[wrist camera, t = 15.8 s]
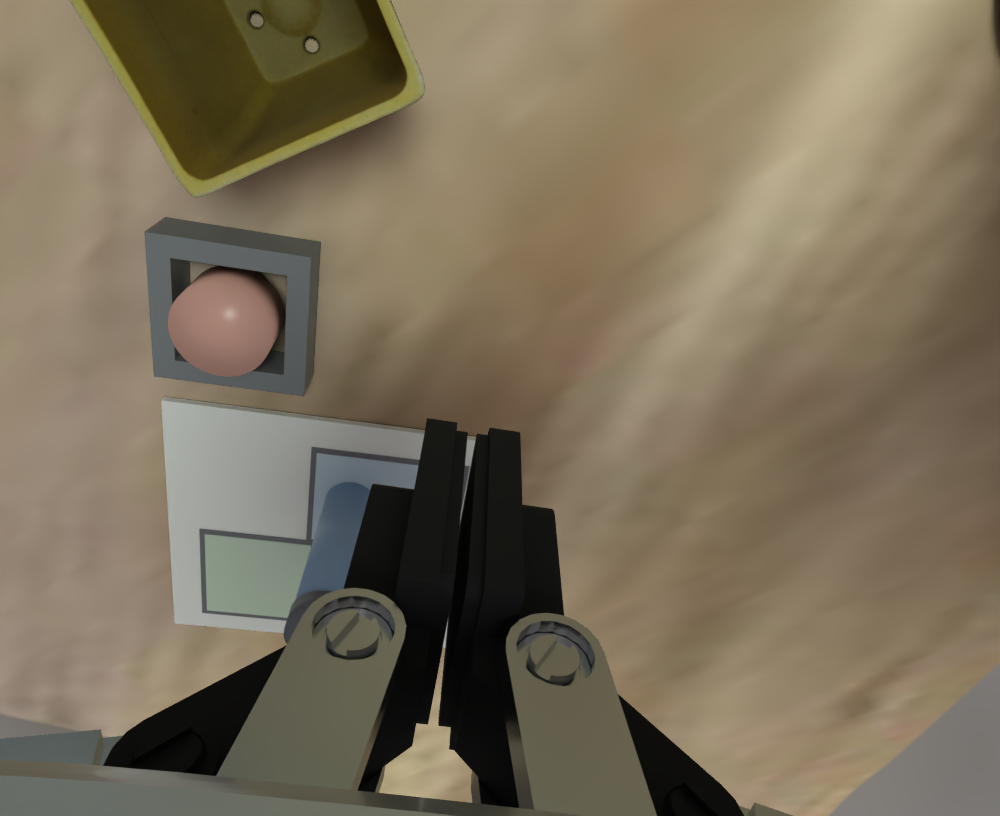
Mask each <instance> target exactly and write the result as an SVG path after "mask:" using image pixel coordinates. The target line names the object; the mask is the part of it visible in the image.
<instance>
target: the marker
mask: <svg viewBox="0 0 1000 816" xmlns="http://www.w3.org/2000/svg"><path fill="white" fill-rule="evenodd" d="M369 493H370V490H369V489H368V488H366V487H365V486H363V485H361V484H358V483H354V482H344V483H340V484H337V485H335V486H334V487H332V488H331V489H330V490H329V492H328V493H327V495H326V498H325V502H324V505H323V509H322V512H321V515H320V519H319V522H318V525H317V529H316V532H315V535H314V539H313V542H312V545H311V549H310V552H309V555H308V559H307V562H306V566H305V569H304V572H303V576H302V579H301V582H300V586H299V589H298V592H297V596H296V599H295V601H294V602H293V604H292V606H291V608H290V611H289V615H288V618H287V621H286V624H285V628H284V639H285V641H286V643H287V644H288V642H289V640H290V638H291V636H292V634H293V633H294V631H295V629H296V627H297V625H298V623H299V621H300V620H301V618H302V616H303V614H304V613H305V611H306V610H307V609H308V608H309V606H310V605H311V604H312V603H313V602H314V601H316V600H317V599H319V598H320V597H322V596H323V595H325V594H327V593H330V592H333V591H336V590H339V589H344V585H345V581H346V578H347V574H348V570H349V567H350V563H351V559H352V556H353V552H354V548H355V545H356V541H357V537H358V534H359V530H360V526H361V523H362V519H363V515H364V512H365V508H366V504H367V501H368V497H369Z"/></svg>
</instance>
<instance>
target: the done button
mask: <svg viewBox="0 0 1000 816" xmlns="http://www.w3.org/2000/svg"><path fill="white" fill-rule="evenodd" d="M283 323H284V308H283V304H282V301H281V298H280V296H279V294H278V293H277V291H276V289H275V288H274V287H273V286H272V284H271V283H270V282H269V281H268V280H267V279H265V278H264V277H263V276H262V275H260V274H258V273H257V272H255V271H253V270H246V269H239V268H233V267H226V266H215V267H212V268H210V269H208V270H206V271H204V272H203V273H201V274H200V275H199V276H198V277H197V278H196V279H195V280H194V281H193V282H192V283H191V284H190V285H189V286H188V287H187V288H186V289H185V290H184V291H183V292H182V293H181V294H180V295H179V296H178V297H177V299H176V300H175V301H174V302H173V304H172V306H171V308H170V311H169V315H168V330H169V334H170V338H171V340H172V342H173V344H174V346H175V348H176V349H177V351H178V352H179V353H180V354H181V356H182V357H183V358H184V359H185V360H187V361H188V362H189V363H190V364H192V365H193V366H194V367H196V368H198V369H200V370H202V371H204V372H206V373H209V374H212V375H217V376H224V377H233V376H240V375H243V374H246V373H248V372H251V371H252V370H254V369H256V368H257V367H258V366H259V365H260V364H261V363H262V362H263V361H264V360H265V358H266V356H267V355H268V353H269V351H270V350H271V348H272V346H273V344H274V342H275V341H276V339H277V337H278V335H279V334H280V332H281V329H282V327H283Z"/></svg>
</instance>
